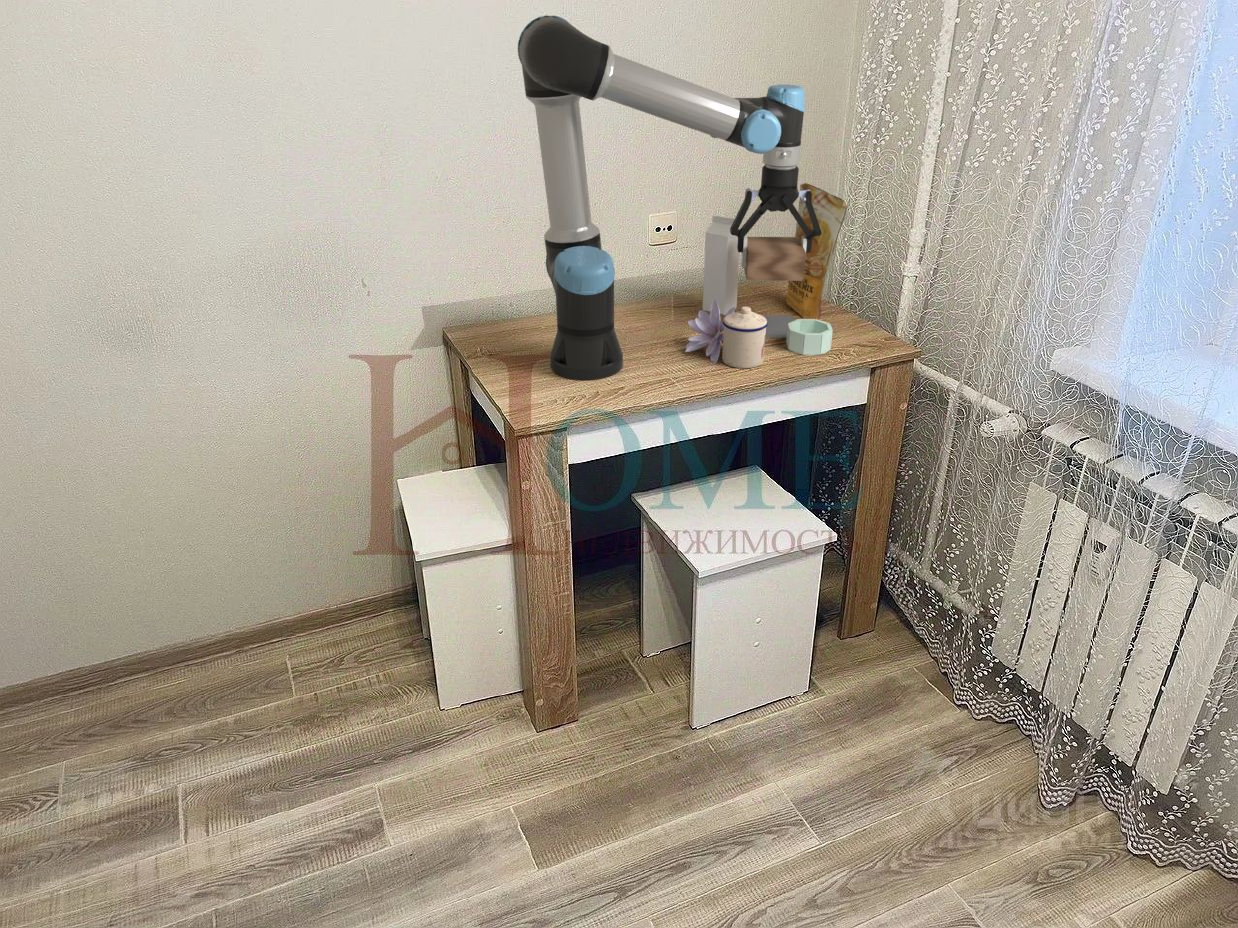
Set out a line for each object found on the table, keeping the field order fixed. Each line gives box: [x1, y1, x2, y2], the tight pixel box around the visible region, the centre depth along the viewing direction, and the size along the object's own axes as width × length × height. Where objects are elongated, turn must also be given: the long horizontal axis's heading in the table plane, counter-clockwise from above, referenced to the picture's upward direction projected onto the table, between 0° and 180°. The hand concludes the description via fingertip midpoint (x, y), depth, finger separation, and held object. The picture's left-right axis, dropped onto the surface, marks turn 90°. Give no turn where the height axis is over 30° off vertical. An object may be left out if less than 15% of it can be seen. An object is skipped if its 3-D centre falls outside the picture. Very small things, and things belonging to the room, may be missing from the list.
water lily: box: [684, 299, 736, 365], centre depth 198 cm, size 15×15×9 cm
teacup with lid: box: [721, 306, 768, 369], centre depth 193 cm, size 12×9×12 cm
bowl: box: [785, 318, 834, 356], centre depth 199 cm, size 9×9×5 cm
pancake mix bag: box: [785, 182, 848, 320], centre depth 214 cm, size 7×19×28 cm, turn 14°
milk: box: [702, 215, 741, 316], centre depth 216 cm, size 6×6×22 cm
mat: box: [761, 314, 796, 339], centre depth 211 cm, size 14×14×1 cm
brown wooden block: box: [743, 236, 806, 282], centre depth 203 cm, size 12×12×6 cm
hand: (772, 267), depth 204 cm, fingers closed on brown wooden block, 12 cm apart
